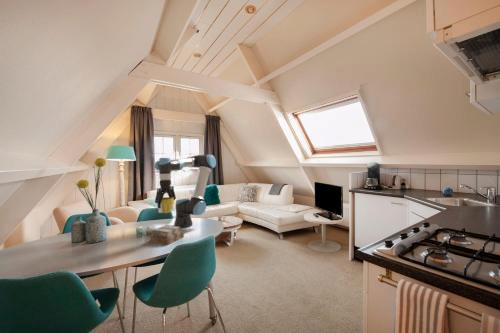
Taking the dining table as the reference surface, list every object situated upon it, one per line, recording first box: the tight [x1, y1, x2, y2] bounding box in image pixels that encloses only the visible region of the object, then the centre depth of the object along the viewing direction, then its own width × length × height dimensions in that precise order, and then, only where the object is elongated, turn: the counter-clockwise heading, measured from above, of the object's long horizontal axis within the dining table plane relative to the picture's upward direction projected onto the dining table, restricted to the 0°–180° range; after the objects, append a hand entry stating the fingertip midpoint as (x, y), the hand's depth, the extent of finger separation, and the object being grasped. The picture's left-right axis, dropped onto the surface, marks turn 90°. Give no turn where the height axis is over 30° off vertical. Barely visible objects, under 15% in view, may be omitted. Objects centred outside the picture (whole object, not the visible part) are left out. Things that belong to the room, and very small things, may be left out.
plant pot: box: [161, 196, 175, 214], centre depth 157 cm, size 10×10×10 cm
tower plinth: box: [149, 224, 185, 246], centre depth 157 cm, size 16×16×8 cm
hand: (166, 210), depth 157 cm, fingers closed on plant pot, 10 cm apart
